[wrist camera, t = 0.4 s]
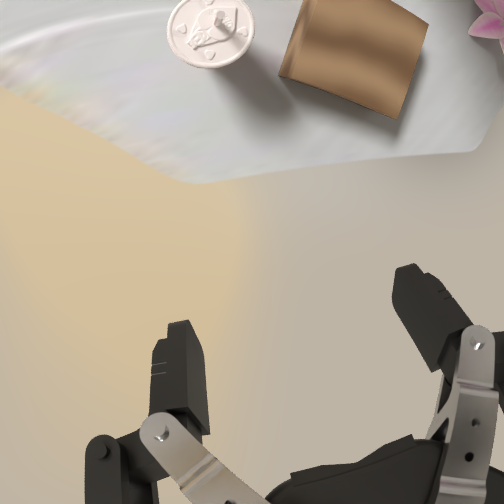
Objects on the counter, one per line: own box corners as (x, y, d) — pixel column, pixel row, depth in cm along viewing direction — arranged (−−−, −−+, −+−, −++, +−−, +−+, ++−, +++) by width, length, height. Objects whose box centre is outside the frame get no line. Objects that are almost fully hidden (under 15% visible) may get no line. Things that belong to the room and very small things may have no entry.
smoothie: (253, 39, 27) (290, 24, 16) (206, 80, 29) (211, 91, 17) (209, -2, 24) (217, -44, 12) (161, 40, 26) (135, 24, 14)
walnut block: (310, -21, 24) (327, -31, 20) (403, 24, 27) (428, 24, 23) (278, 75, 30) (291, 78, 26) (374, 111, 33) (396, 120, 29)
